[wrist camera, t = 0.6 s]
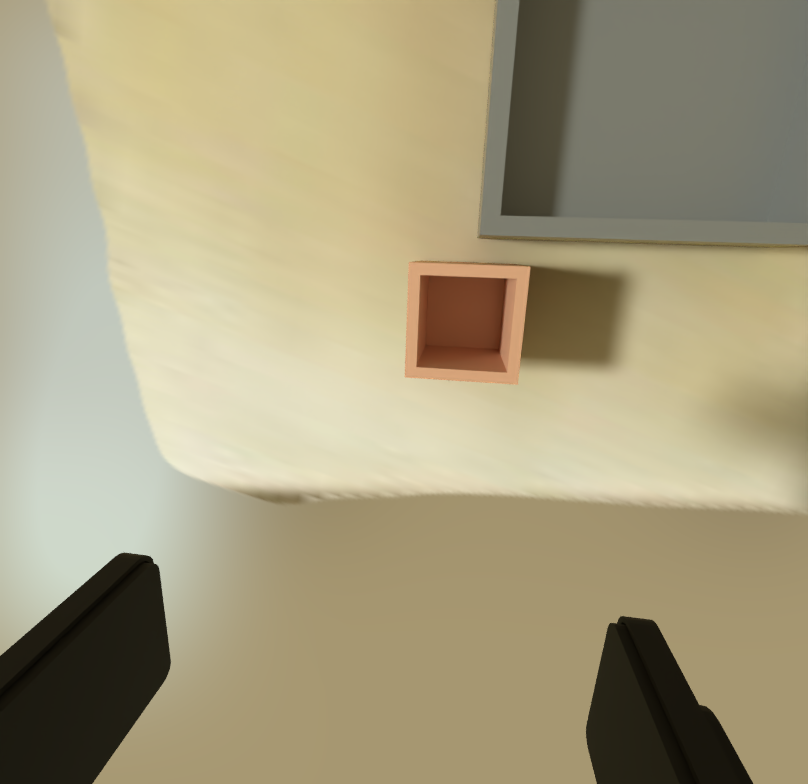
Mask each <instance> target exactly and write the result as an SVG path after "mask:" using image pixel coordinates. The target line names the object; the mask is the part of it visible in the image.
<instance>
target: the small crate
mask: <svg viewBox="0 0 808 784" xmlns="http://www.w3.org/2000/svg"><path fill="white" fill-rule="evenodd" d="M529 276H530V267H529V266H523V265H517V264H495V263H467V262H440V261H415V262H409V274H408V303H407V331H406V360H405V377H408V378H424V379H439V380H455V381H471V382H486V383H502V384H517V385H518V377H519V368H520V359H521V350H522V341H523V332H524V322H525V313H526V304H527V295H528V286H529Z"/></svg>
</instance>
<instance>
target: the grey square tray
mask: <svg viewBox="0 0 808 784" xmlns="http://www.w3.org/2000/svg"><path fill="white" fill-rule="evenodd" d="M477 238H492V239H524V240H557V241H590V242H622V243H655V244H688V245H721V246H753V247H785V246H808V0H495V11H494V24H493V37H492V51H491V64H490V77H489V90H488V104H487V117H486V130H485V143H484V157H483V170H482V183H481V196H480V210H479V223H478V236H477Z"/></svg>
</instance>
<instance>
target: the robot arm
mask: <svg viewBox="0 0 808 784" xmlns="http://www.w3.org/2000/svg"><path fill="white" fill-rule="evenodd" d="M170 664H171V660H170V652H169V643H168V635H167V627H166V619H165V612H164V604H163V596H162V588H161V580H160V572H159V567H158V566H157V565H156V564H154V563H153V559H152V558H151V557H150V556H146V555H138V554H131V553H121V554H119V555H117V556H116V557H115V558H113V559H112V560H111V561H110V562H109V563H108V564H106V565H105V566H104V567H103V568H102V569H101V570H99V571H98V572H97V573H96V574H95V575H94V576H92V577H91V578H90V579H89V580H88V581H87V582H85V583H84V584H83V585H82V586H81V587H80V588H79V589H77V591H75V592H74V593H73V594H72V595H70V597H68V598H67V599H66V600H65V601H63V602H62V603H61V604H60V605H59V606H58V607H57V608H55V609H54V610H53V611H52V612H51V613H50V614H48V615H47V616H46V617H45V618H44V619H43V620H41V621H40V622H39V623H38V624H37V625H36V626H35V627H33V628H32V629H31V630H30V631H29V632H28V633H26V634H25V635H24V636H23V637H22V638H21V639H19V640H18V641H17V642H16V643H15V644H14V645H12V646H11V647H10V648H9V649H8V650H7V651H6V652H4V653H3V654H2V655H1V656H0V784H92V783H93V782H94V780H95V779H96V777H97V776H98V775H99V773H100V772H101V771H102V769H103V768H104V766H105V765H106V763H107V762H108V761H109V759H110V758H111V756H112V755H113V753H114V752H115V750H116V749H117V748H118V746H119V745H120V743H121V742H122V741H123V739H124V738H125V736H126V735H127V734H128V732H129V731H130V729H131V728H132V726H133V725H134V724H135V722H136V721H137V719H138V718H139V716H140V715H141V713H142V712H143V711H144V709H145V708H146V706H147V705H148V704H149V702H150V701H151V699H152V698H153V697H154V695H155V694H156V692H157V691H158V690H159V688H160V687H161V685H162V684H163V682H164V681H165V679H166V677H167V675H168V672H169V669H170ZM586 738H587V745H588V750H589V754H590V758H591V762H592V766H593V770H594V774H595V778H596V781H597V784H753V782H752V780H751V779H750V777H749V775H748V773H747V771H746V770H745V768H744V766H743V764H742V762H741V761H740V759H739V757H738V755H737V753H736V751H735V750H734V748H733V746H732V744H731V742H730V740H729V739H728V737H727V735H726V733H725V731H724V730H723V728H722V726H721V724H720V722H719V721H718V719H717V718H716V716H715V715H714V713H713V712H712V711H711V710H710V709H708V708H707V707H706V706H702V705H699V704H698V702H697V700H696V698H695V696H694V694H693V692H692V690H691V689H690V687H689V685H688V683H687V681H686V679H685V677H684V675H683V673H682V671H681V669H680V668H679V666H678V664H677V662H676V660H675V658H674V656H673V654H672V653H671V651H670V649H669V647H668V645H667V643H666V641H665V639H664V637H663V635H662V633H661V632H660V630H659V628H658V626H657V624H656V623H655V622H654V621H653V620H647V619H640V618H632V617H624V616H622V617H620V618H619V620H618V622H617V624H616V623H610V624H609V626H608V629H607V634H606V639H605V643H604V648H603V652H602V657H601V661H600V666H599V670H598V675H597V679H596V684H595V689H594V693H593V698H592V702H591V707H590V711H589V716H588V721H587V726H586Z"/></svg>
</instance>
